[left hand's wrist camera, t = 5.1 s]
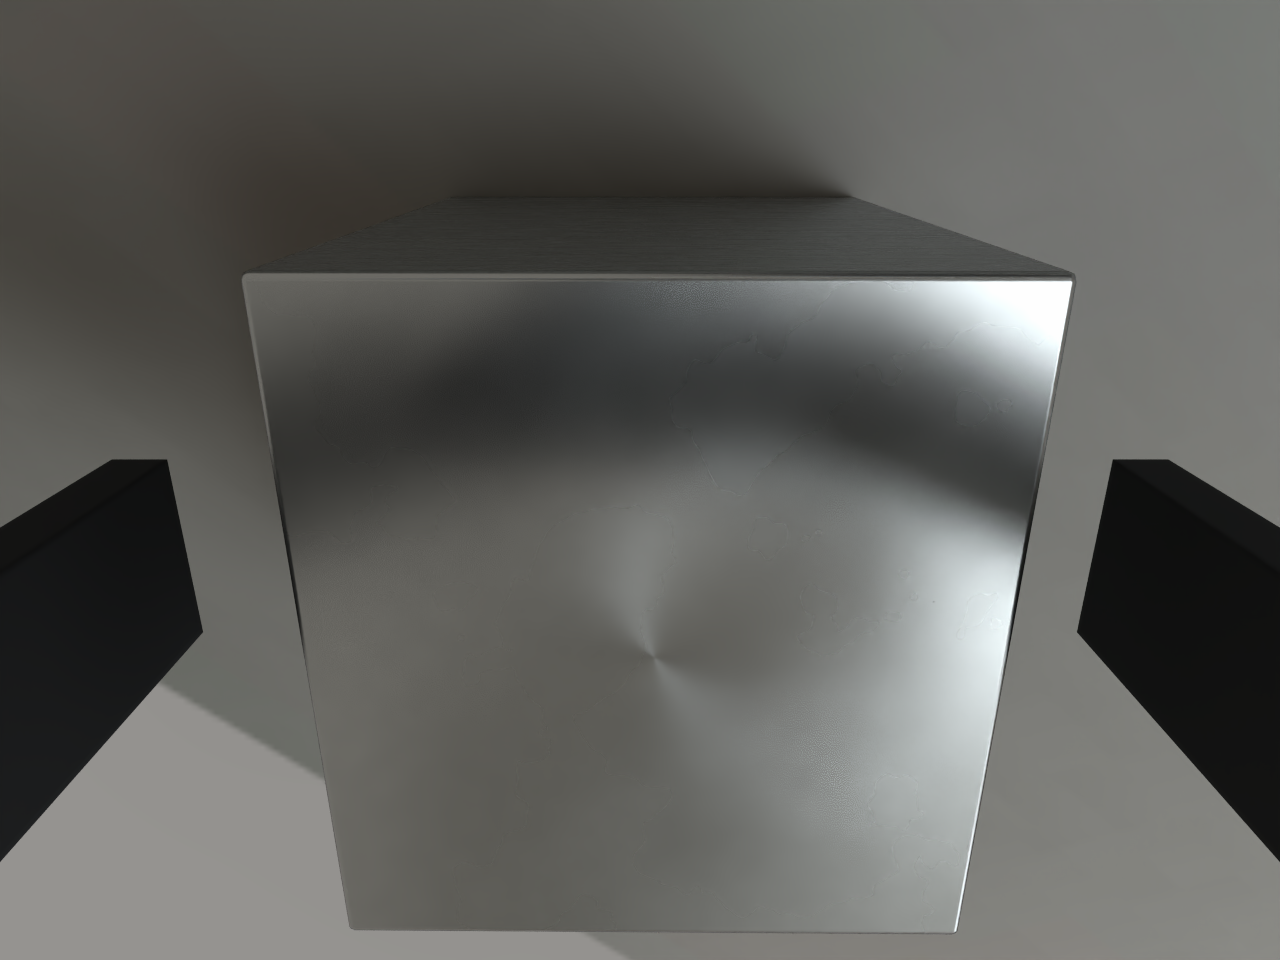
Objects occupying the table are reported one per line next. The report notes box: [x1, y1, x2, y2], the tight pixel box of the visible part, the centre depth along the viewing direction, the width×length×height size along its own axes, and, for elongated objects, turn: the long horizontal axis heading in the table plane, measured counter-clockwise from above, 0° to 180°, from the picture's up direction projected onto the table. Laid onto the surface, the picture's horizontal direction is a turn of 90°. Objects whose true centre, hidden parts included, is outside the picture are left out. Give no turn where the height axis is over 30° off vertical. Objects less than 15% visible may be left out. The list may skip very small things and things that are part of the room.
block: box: [241, 197, 1076, 934], centre depth 14 cm, size 8×8×9 cm
